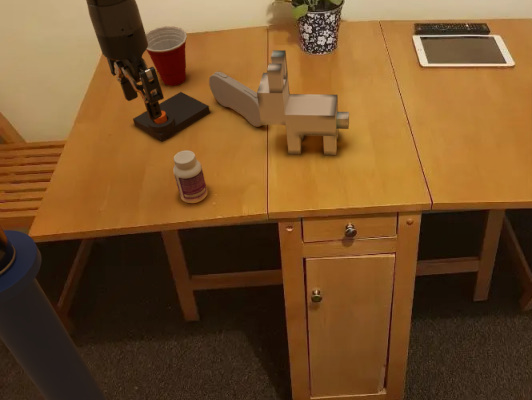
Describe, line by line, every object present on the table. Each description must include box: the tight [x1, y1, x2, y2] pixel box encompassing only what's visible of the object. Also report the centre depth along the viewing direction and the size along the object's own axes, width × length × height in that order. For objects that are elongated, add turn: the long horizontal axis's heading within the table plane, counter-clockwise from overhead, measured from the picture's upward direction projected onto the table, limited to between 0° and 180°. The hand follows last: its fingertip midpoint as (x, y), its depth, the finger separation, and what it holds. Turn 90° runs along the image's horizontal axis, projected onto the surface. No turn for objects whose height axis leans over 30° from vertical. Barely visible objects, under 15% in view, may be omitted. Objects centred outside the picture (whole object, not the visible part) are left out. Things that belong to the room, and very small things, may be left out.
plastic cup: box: [145, 25, 188, 87], centre depth 142 cm, size 11×11×12 cm
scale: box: [132, 91, 211, 142], centre depth 132 cm, size 14×10×4 cm
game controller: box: [208, 71, 263, 128], centre depth 131 cm, size 20×2×8 cm, turn 44°
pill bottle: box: [172, 149, 208, 204], centre depth 111 cm, size 5×5×10 cm
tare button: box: [154, 111, 167, 124], centre depth 127 cm, size 3×3×2 cm
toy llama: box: [256, 49, 350, 156], centre depth 118 cm, size 8×18×20 cm, turn 85°
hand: (143, 108), depth 104 cm, fingers open, 8 cm apart
